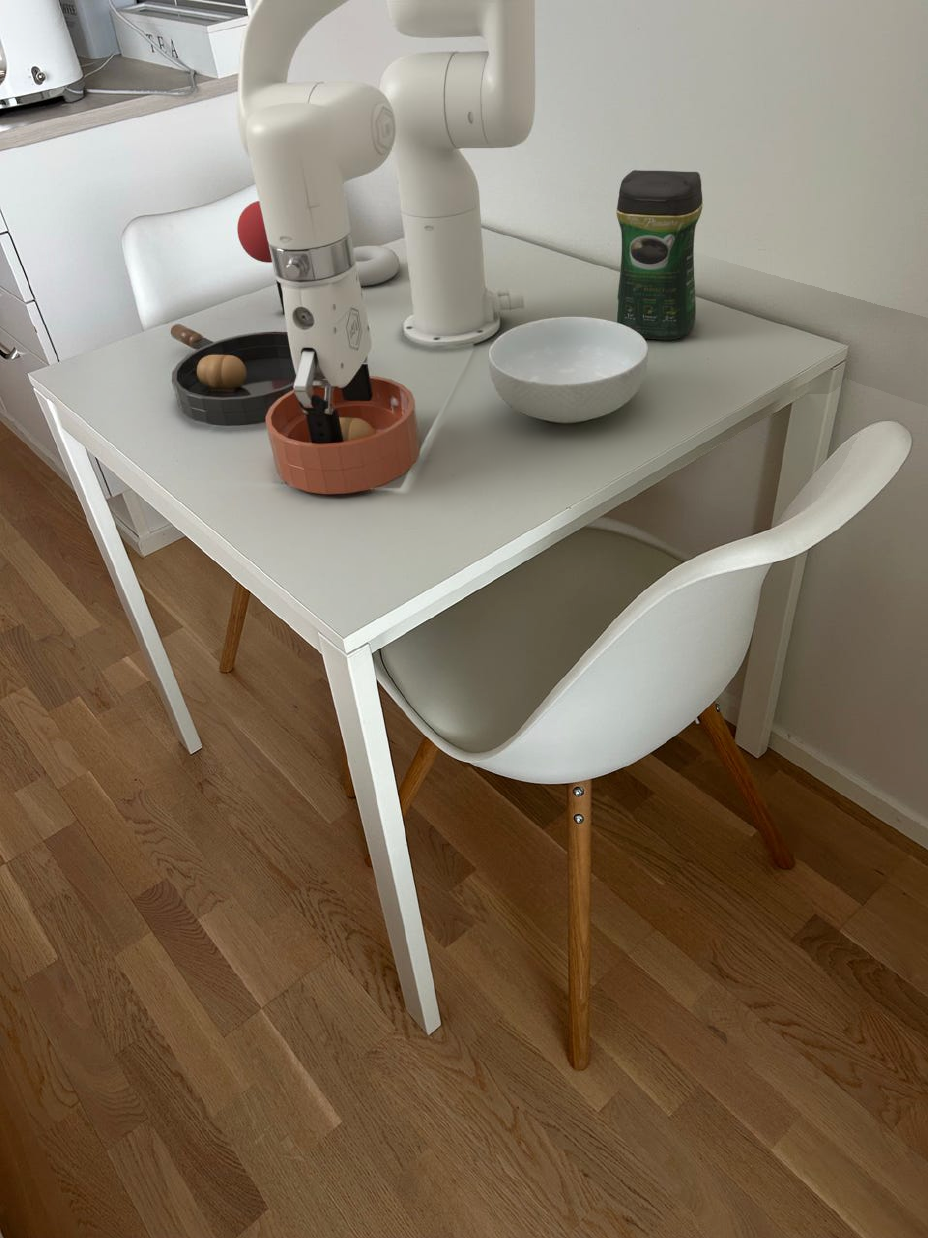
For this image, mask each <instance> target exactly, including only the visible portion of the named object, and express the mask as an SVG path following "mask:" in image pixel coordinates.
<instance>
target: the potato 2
mask: <svg viewBox="0 0 928 1238" xmlns="http://www.w3.org/2000/svg"><path fill="white" fill-rule="evenodd" d="M339 420H340V425H341V430H342V435H343V441H344V442H347V441H353V440H358V439H361V438H364V437H367V436H370V435H374V434H375V432H374V430H373V428H372V426H371V425H370V424H369V423H368V422H366V421H365V420H363V419H360V418H347V417H339Z"/></svg>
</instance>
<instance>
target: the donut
mask: <svg viewBox="0 0 928 1238" xmlns="http://www.w3.org/2000/svg"><path fill="white" fill-rule="evenodd" d="M353 251H354V257H355V263H356V272H357V275H358V279H359V282H360V286H361V287H367V286H374V285H378V284H382V283H384V282H386V281H389V280H390V279H392V278H393V277H394V276H395V275H396V274H397V273H398V271H399V268H400V265H401V263H400V262H401V261H400V258H399V256H398V255H397V253H396V252H395V251H394V250H393V249H391V248H389V247H386V246H381V245H363V246H356V247H353Z"/></svg>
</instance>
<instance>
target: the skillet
mask: <svg viewBox="0 0 928 1238" xmlns="http://www.w3.org/2000/svg"><path fill="white" fill-rule="evenodd" d="M213 342H214V343H211V344H209V345H206V346H204V347H201V348H200V349H195V350H194V351H192V352H191V353H189V354H188V355H186V356H184V358H182V359H181V360H180V361H179V362H177V364H176V365H175V367H174V369H172V372H171V383H172V387H173V390H174V393H175V397H176V399H177V400H176V401H177V404H178V406H179V409H180V410H181V412H182V413H183V414H184V415H186V416H187V417H188V418H190V419H192V420H194V421H197V422H199V423H203V424H208V425H212V426H213V425H214V426H223V427H224V426H225V427H226V426H227V427H231V426H232V427H235V426H237V427H239V426H249V425H255V424H256V425H257V424H262V423H266V419H265V418H266V415H267V413H268V410H269V408H270V407H271V406H272V405H273V404H274V403H275V402H276V401H277V400H278V399H279V398H281V397H282V396H284V395H285V394H287V393H288V392H290V391H292V390H294V389H293V387H294V382H295V379H296V373H295V369H294V365H293V361H292V356H291V351H290V345H289V339H288V333H287V331H261V332H260V331H259V332H252V333H244V334H239V335H233V336H231V337H226V338H222V339H219V340H216V341H213ZM208 355H232V356H235V357H237V358H239V359H240V360H241V361H242V362H243V364H244V365H245V368H246V379H245V381H244V383H243V384H242V385H241V386H240V387H238V388H236V389H235V390H234V391H233V392H225V391H211V390H210V388H208V387H206V386H204V385H203V384H202V383H201V382H200V380H199V378H198V376H197V366H198V364H199V362H200V360H201V359H202V358H204V357H205V356H208ZM324 379H326V378H325V376H315V377H314V380H324Z"/></svg>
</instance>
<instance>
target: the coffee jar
mask: <svg viewBox="0 0 928 1238" xmlns="http://www.w3.org/2000/svg"><path fill="white" fill-rule="evenodd" d="M703 205H704V202H703V190H702V179H701V175H700V173H699V172H698V171H680V170H679V171H678V170H677V171H674V170H637V169H634V170H632V171H630V172H629V173H627V174H626V176H624V177H623V179H622V180H621V183H620V187H619V191H618V198H617V204H616V218H617V219H616V220H617V221H618V225H619V228H620V233H621V256H620V257H621V258H620V271H619V280H618V291H617V299H616V309H615V322H616V323H619V324H622V325H625V326H627V327H629V328H631V329H633V330H634V331H636V332H637V333H639V334H640V335H641V336H642V337H643V338H644V339H650V340H652V339H653V340H676V339H678V338H681V337H684V336H685V335H688V334H689V333H690V331H691V330H692V329H693V327H694V325H695V323H696V315H697V314H696V313H697V312H696V311H697V310H696V309H697V305H696V304H697V303H696V282H695V259H694V258H695V251H694V250H695V234H696V227H697V223H698V221H699V220H700V217H701V215H702V211H703Z"/></svg>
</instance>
